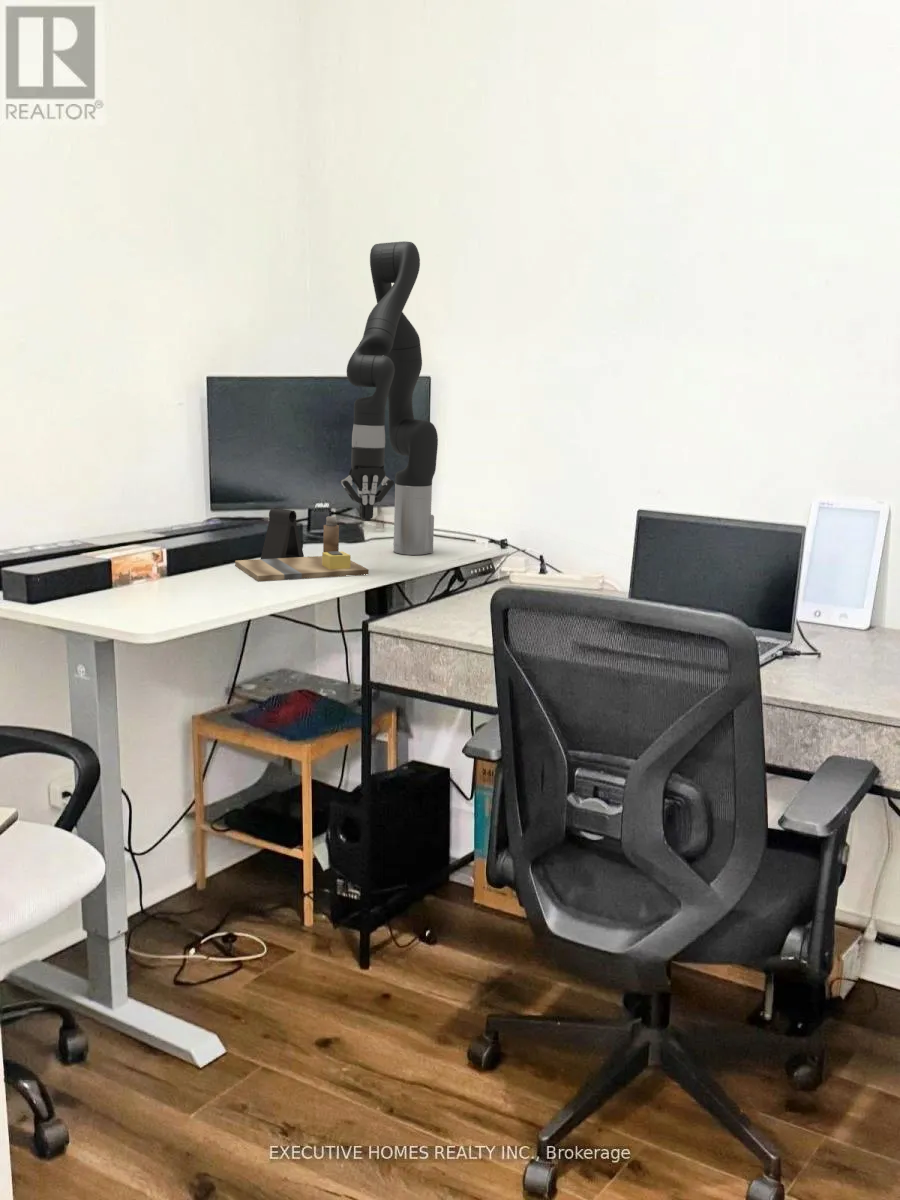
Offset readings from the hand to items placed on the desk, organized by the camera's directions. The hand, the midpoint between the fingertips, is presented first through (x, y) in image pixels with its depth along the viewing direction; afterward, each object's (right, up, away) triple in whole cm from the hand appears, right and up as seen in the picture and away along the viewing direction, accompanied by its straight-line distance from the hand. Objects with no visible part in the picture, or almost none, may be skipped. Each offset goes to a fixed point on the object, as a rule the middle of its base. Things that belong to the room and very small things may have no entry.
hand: (365, 520), depth 268 cm
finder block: (-7, -11, -1) cm, 13 cm away
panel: (-15, -11, 0) cm, 19 cm away
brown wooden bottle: (-9, -9, +8) cm, 15 cm away
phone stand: (-21, -9, +12) cm, 26 cm away
